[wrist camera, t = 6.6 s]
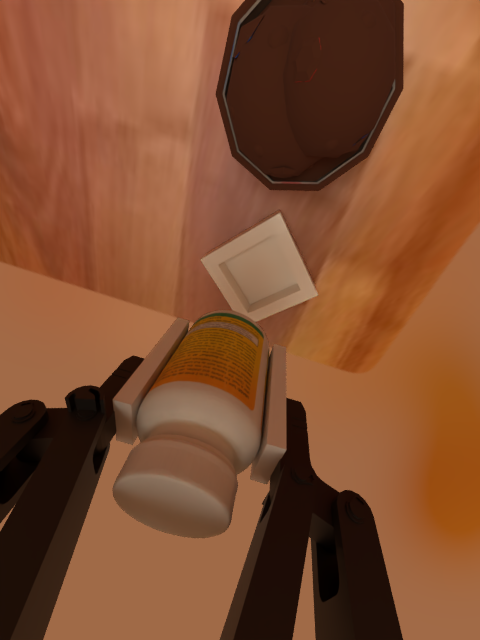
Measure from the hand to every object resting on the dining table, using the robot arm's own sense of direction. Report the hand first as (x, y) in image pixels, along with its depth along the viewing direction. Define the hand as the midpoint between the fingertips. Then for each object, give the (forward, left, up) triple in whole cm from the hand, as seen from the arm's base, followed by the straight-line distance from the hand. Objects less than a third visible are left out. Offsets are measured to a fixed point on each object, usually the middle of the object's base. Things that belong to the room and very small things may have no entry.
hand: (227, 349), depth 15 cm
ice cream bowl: (-10, +10, -18) cm, 23 cm away
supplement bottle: (0, 0, -1) cm, 1 cm away
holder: (+1, +1, -17) cm, 17 cm away
